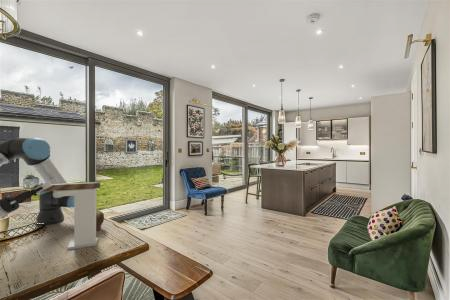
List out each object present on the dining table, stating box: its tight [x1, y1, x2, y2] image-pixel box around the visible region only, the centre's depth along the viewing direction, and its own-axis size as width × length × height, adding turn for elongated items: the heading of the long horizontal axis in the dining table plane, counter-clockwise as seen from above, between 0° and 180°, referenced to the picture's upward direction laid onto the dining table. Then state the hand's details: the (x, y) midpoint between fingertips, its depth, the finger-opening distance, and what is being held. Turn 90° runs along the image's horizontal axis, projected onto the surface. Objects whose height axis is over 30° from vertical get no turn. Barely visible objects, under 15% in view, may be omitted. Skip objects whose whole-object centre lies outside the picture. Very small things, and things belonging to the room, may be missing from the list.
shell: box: [96, 210, 105, 232], centre depth 139 cm, size 11×11×12 cm
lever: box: [33, 181, 101, 192], centre depth 116 cm, size 28×3×3 cm, turn 114°
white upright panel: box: [58, 188, 99, 250], centre depth 118 cm, size 17×8×30 cm, turn 114°
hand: (53, 181), depth 113 cm, fingers open, 11 cm apart
